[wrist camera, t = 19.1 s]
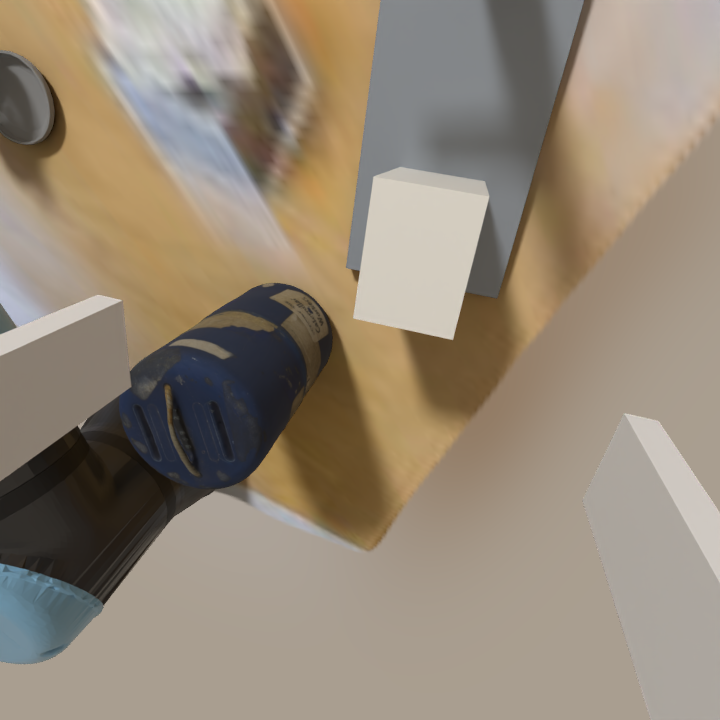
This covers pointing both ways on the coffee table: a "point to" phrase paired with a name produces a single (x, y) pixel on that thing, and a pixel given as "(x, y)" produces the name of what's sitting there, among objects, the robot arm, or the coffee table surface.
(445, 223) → the white block
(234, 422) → the canister
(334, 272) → the coffee table surface
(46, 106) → the pocket watch
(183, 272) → the coffee table surface
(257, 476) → the coffee table surface
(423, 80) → the gray post stand
